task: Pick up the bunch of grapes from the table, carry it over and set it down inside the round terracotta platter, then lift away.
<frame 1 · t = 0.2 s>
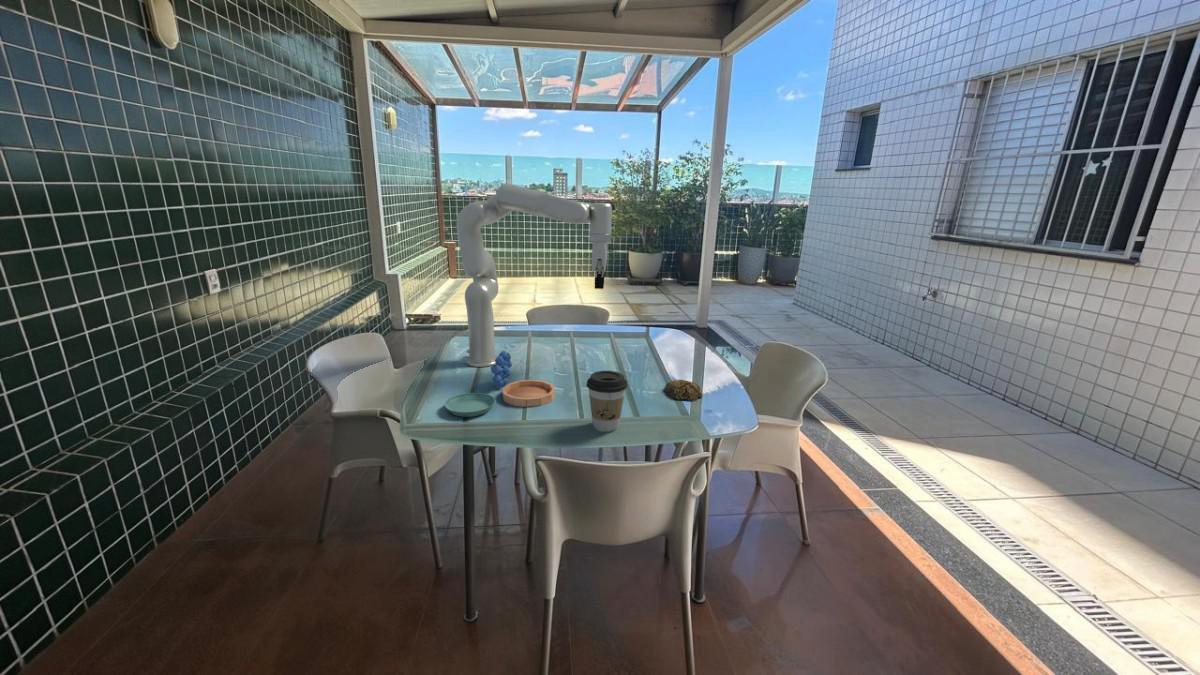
hand: (599, 286, 177), 31 cm above the table, tool pointing down, fingers open, 9 cm apart
saucer: (470, 410, 146), on the table
platter: (529, 396, 156), on the table
grapes: (500, 386, 164), on the table
bread roll: (683, 395, 161), on the table
coffee cup: (605, 426, 136), on the table
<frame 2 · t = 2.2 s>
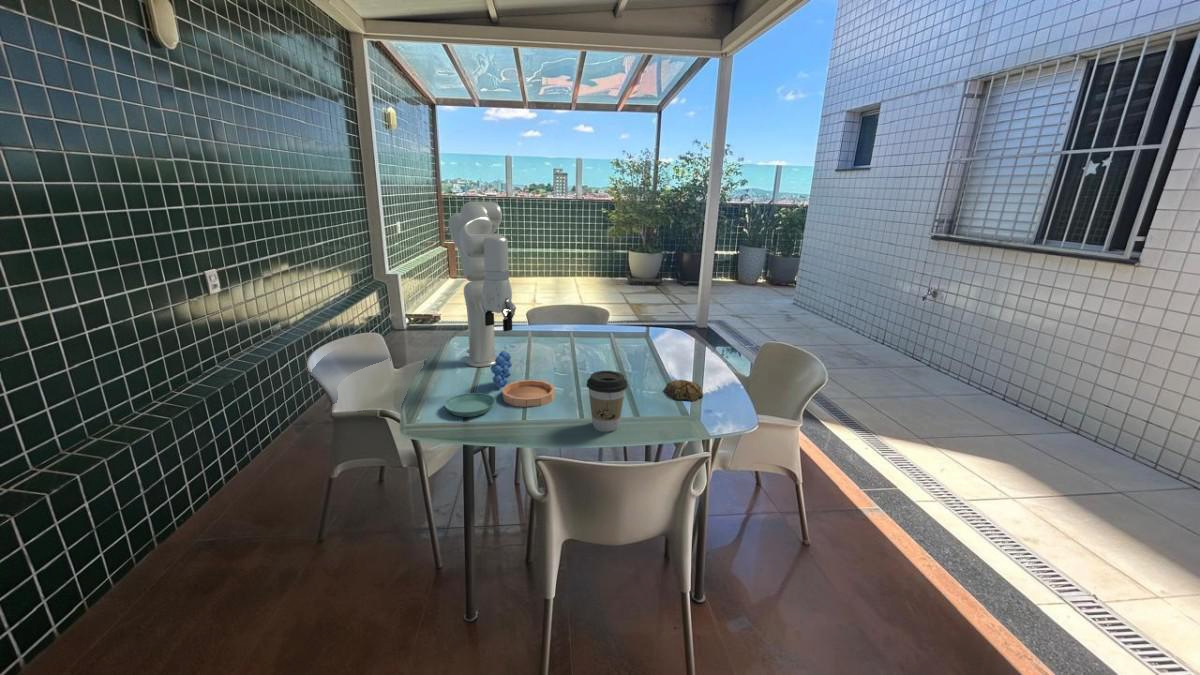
hand: (498, 327, 159), 20 cm above the table, tool pointing down, fingers open, 9 cm apart
nothing on the table moved.
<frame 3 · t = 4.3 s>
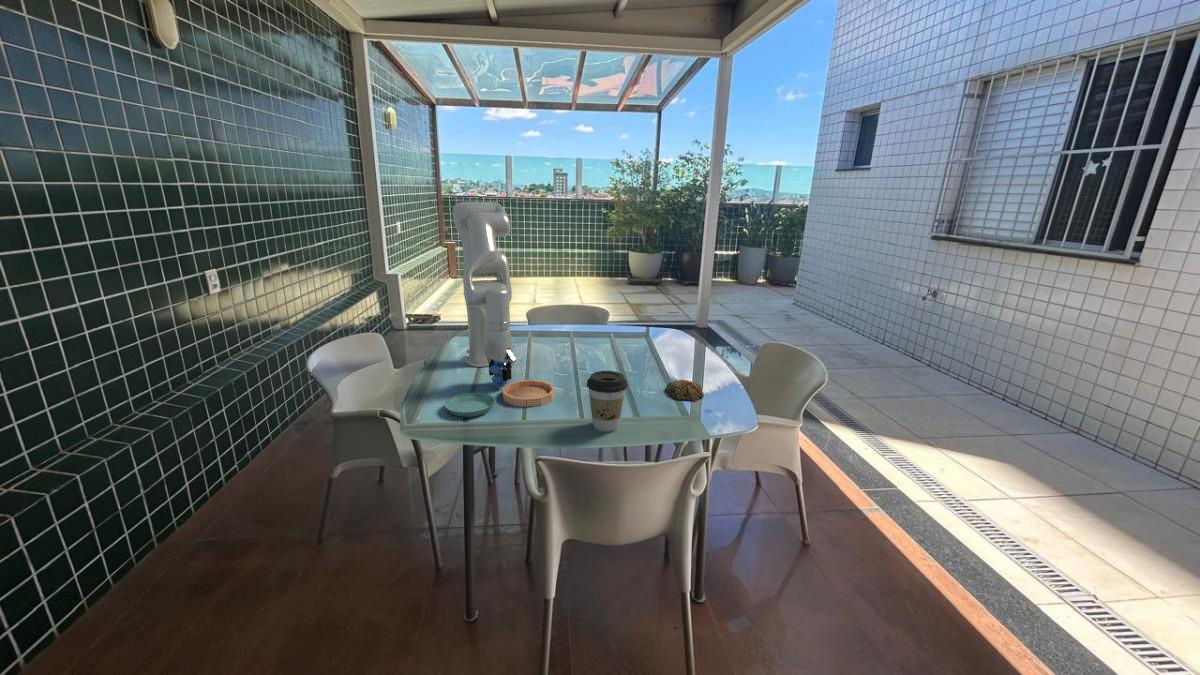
hand: (500, 376, 163), 3 cm above the table, tool pointing down, fingers closed on grapes, 6 cm apart
grapes: (500, 386, 164), on the table, touching gripper
everything else where it was.
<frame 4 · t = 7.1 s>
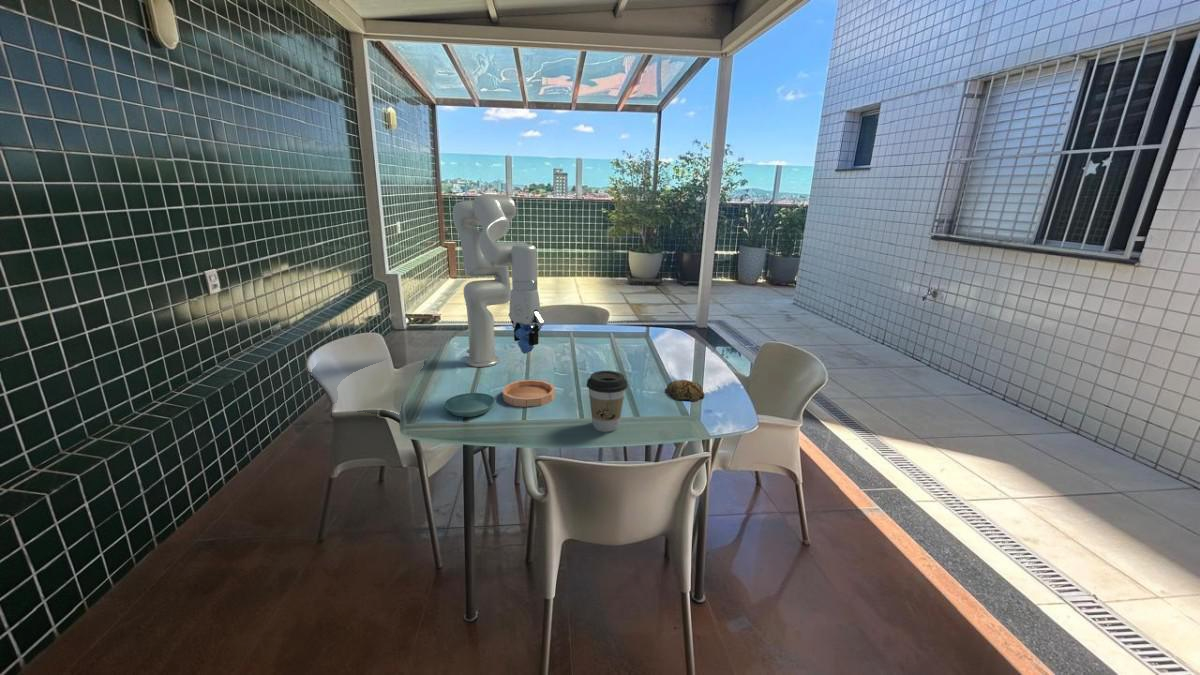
hand: (526, 342, 151), 18 cm above the table, tool pointing down, fingers closed on grapes, 6 cm apart
grapes: (526, 352, 152), point 15 cm above the table, touching gripper
everything else where it was.
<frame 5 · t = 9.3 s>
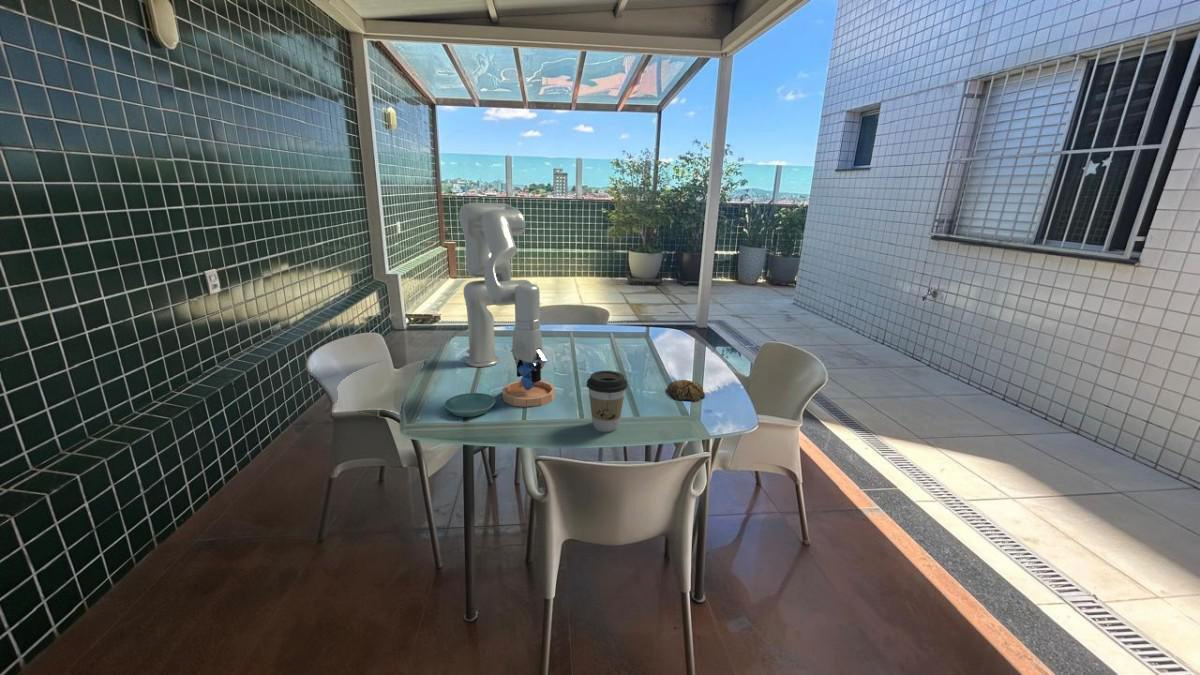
hand: (528, 378, 154), 6 cm above the table, tool pointing down, fingers closed on grapes, 6 cm apart
grapes: (528, 388, 155), point 3 cm above the table, touching gripper
everything else where it was.
when the fingers open (5 cm above the table, at t = 10.0 s): grapes drops 1 cm, resting on platter.
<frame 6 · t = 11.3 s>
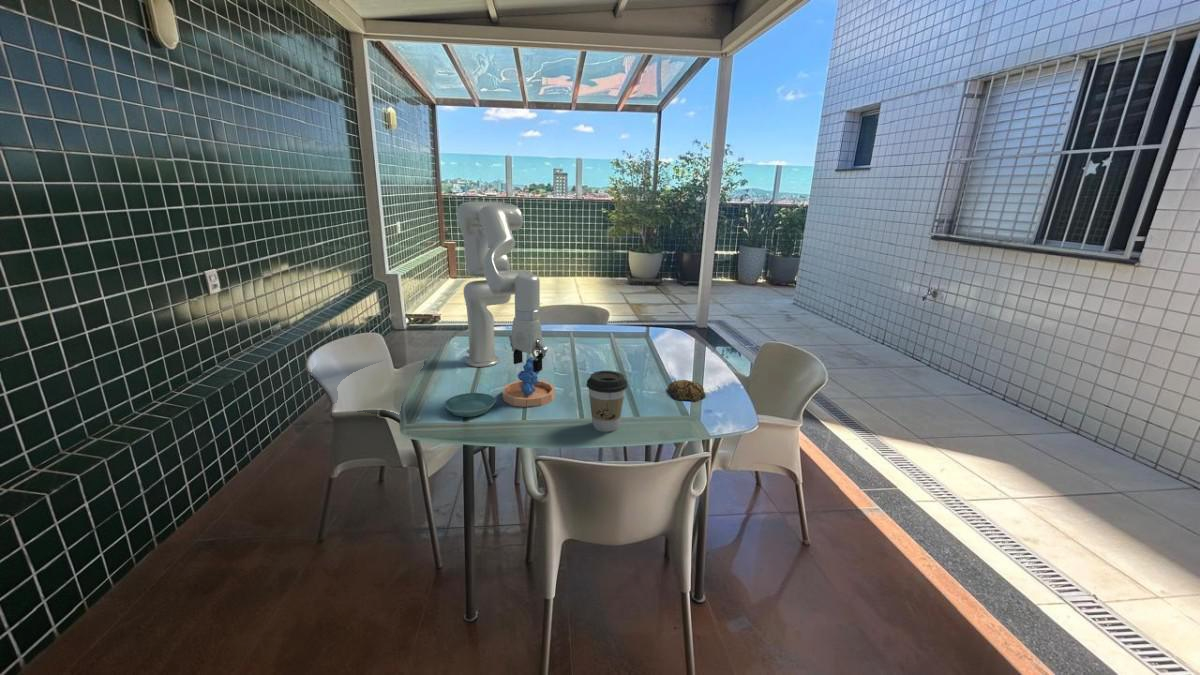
hand: (527, 367, 154), 10 cm above the table, tool pointing down, fingers open, 9 cm apart
grapes: (527, 394, 156), point 1 cm above the table, touching platter
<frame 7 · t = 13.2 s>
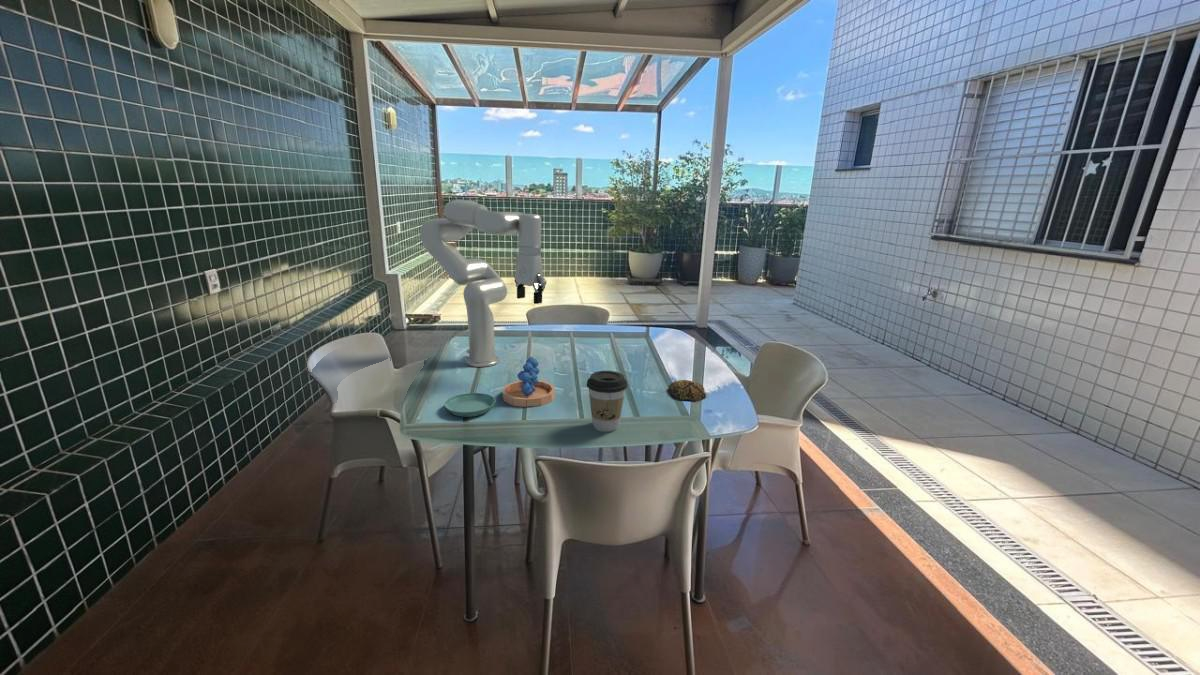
hand: (529, 300, 169), 27 cm above the table, tool pointing down, fingers open, 9 cm apart
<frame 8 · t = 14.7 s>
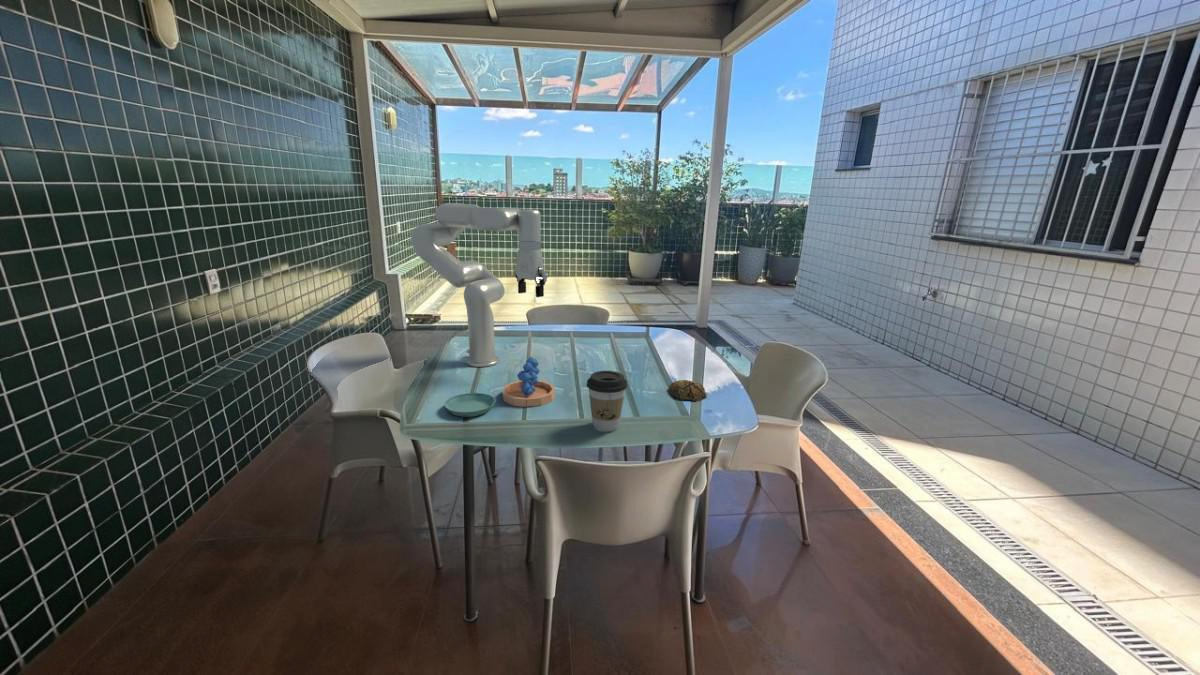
hand: (530, 294, 173), 28 cm above the table, tool pointing down, fingers open, 9 cm apart
at the end: grapes inside the target area on the platter (0.6 cm from its centre), point 0.6 cm above the platter's base; the gripper is holding nothing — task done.
